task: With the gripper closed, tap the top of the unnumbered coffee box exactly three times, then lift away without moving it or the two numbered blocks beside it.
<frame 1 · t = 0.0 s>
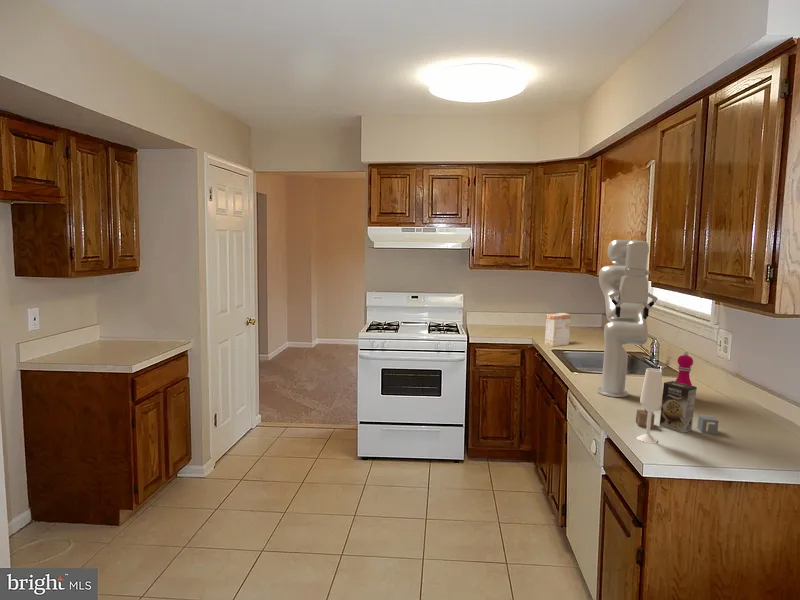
hand: (631, 317, 215), 37 cm above the countertop, tool pointing down, fingers open, 9 cm apart
pepper mill: (681, 397, 241), on the countertop
slate block seven: (707, 431, 199), on the countertop
walnut block one: (644, 425, 203), on the countertop
champagne flute: (647, 440, 188), on the countertop
coffeecake box: (556, 345, 349), on the countertop
coffee box: (675, 428, 201), on the countertop
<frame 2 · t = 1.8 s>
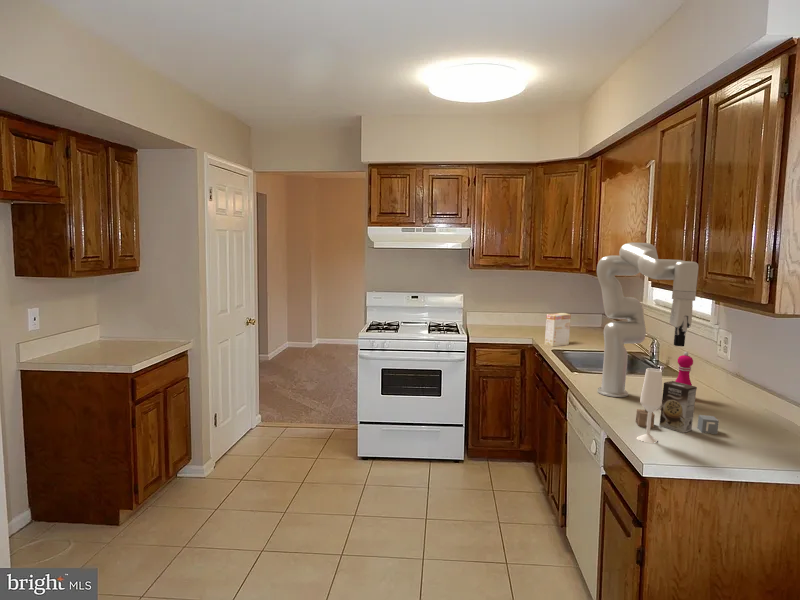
hand: (678, 345, 203), 29 cm above the countertop, tool pointing down, fingers closed
nothing on the countertop moved.
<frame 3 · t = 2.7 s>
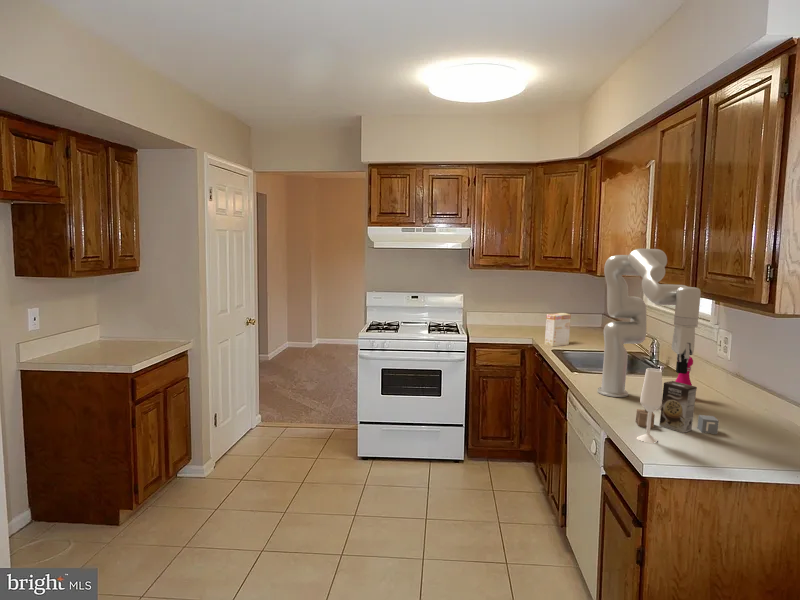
hand: (681, 372, 199), 20 cm above the countertop, tool pointing down, fingers closed
nothing on the countertop moved.
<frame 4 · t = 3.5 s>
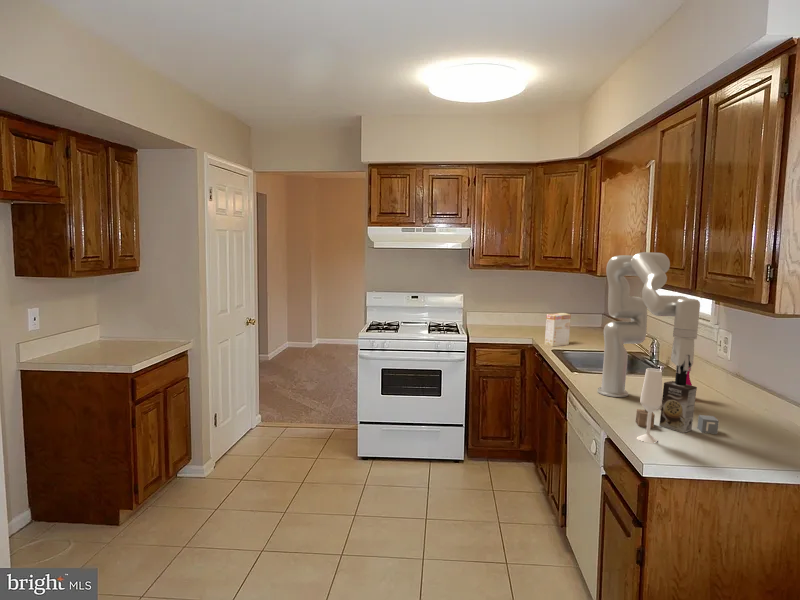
hand: (680, 384, 199), 16 cm above the countertop, tool pointing down, fingers closed
coffee box: (675, 428, 201), on the countertop, touching gripper
everything else where it was.
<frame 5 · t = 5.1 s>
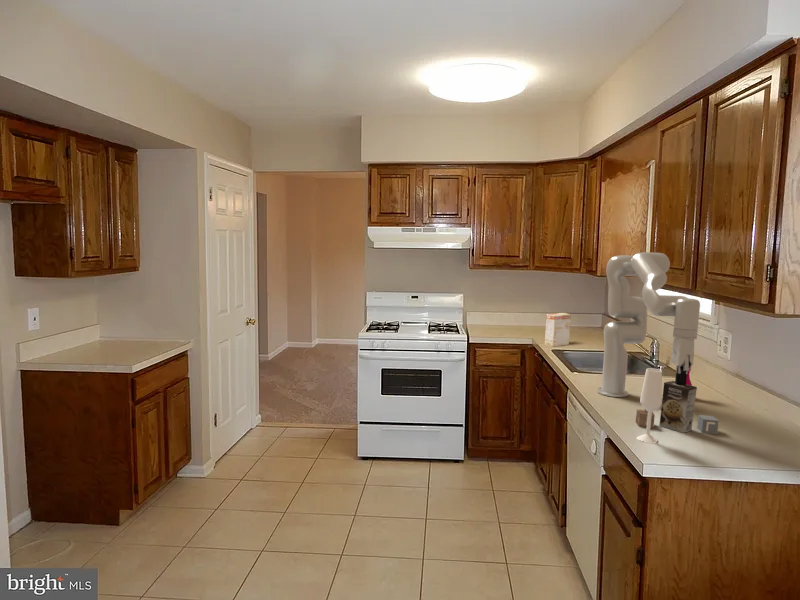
hand: (680, 384, 199), 16 cm above the countertop, tool pointing down, fingers closed
nothing on the countertop moved.
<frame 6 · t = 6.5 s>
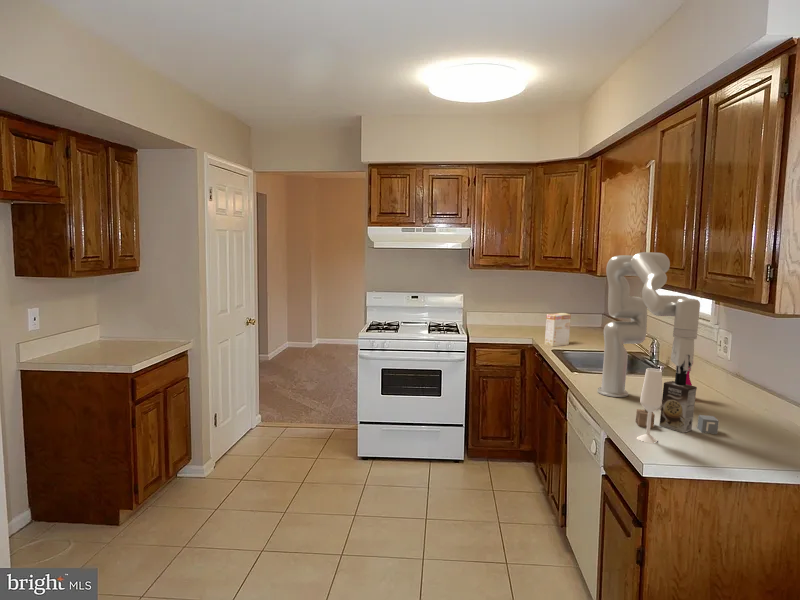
hand: (680, 384, 199), 16 cm above the countertop, tool pointing down, fingers closed
nothing on the countertop moved.
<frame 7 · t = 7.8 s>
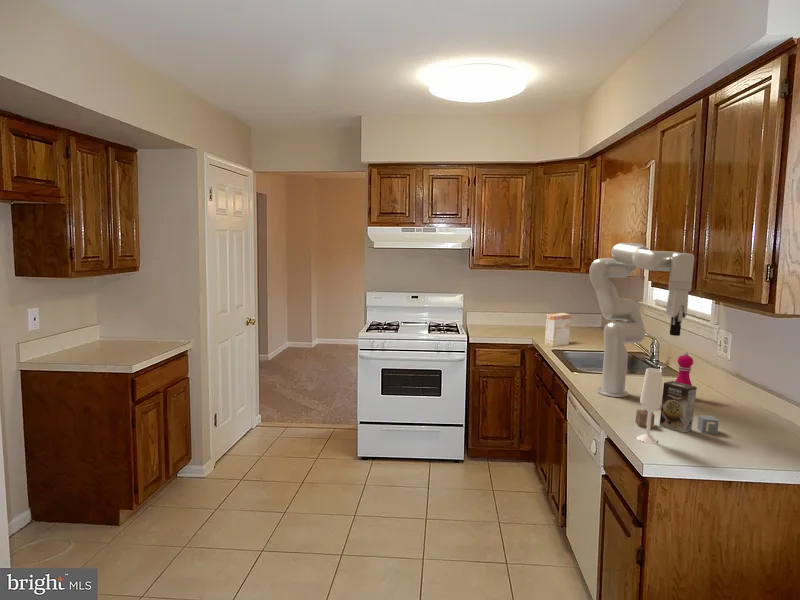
hand: (674, 335, 209), 32 cm above the countertop, tool pointing down, fingers closed
coffee box: (675, 428, 201), on the countertop
everything else where it was.
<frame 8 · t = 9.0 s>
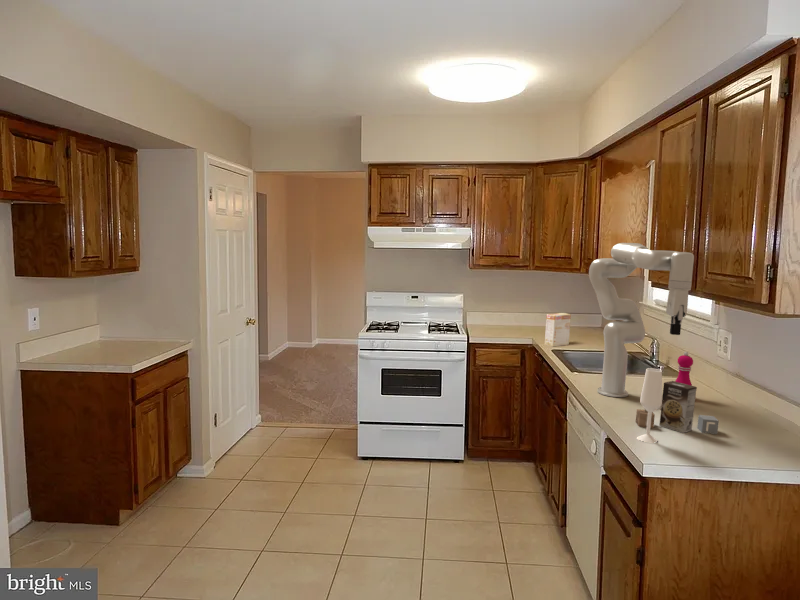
hand: (674, 334, 209), 32 cm above the countertop, tool pointing down, fingers closed
nothing on the countertop moved.
at the end: coffee box moved 0.2 cm from its start; coffee box tilted 0°; walnut block one moved 0.1 cm from its start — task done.
